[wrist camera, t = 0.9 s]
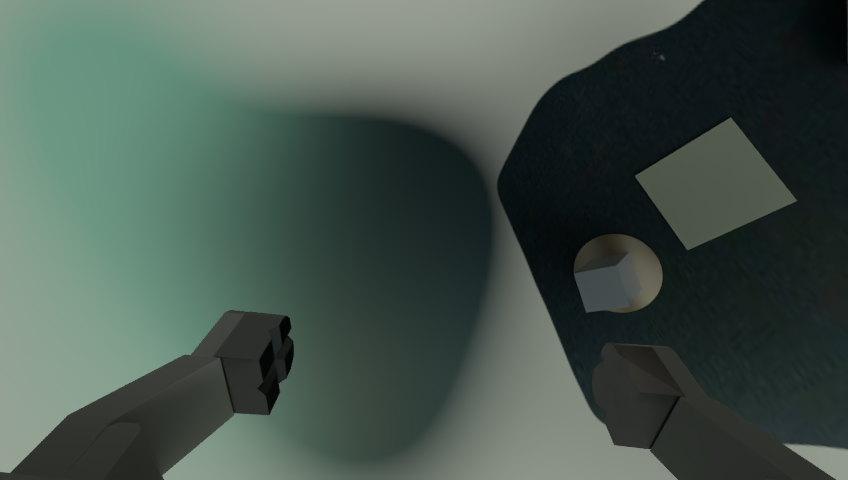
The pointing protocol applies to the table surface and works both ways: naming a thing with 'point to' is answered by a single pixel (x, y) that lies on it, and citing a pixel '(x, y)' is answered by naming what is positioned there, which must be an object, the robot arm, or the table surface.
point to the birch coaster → (642, 261)
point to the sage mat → (714, 185)
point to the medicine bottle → (847, 31)
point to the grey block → (608, 283)
